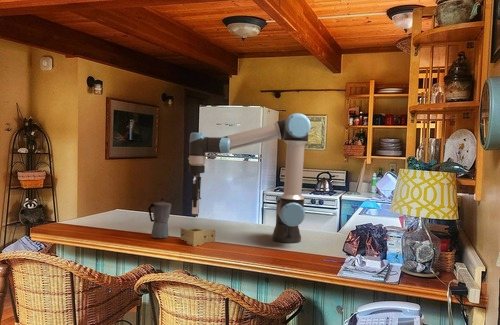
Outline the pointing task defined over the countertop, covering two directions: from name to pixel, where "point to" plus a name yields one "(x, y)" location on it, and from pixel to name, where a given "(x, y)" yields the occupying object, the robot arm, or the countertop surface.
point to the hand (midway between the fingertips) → (195, 213)
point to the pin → (198, 204)
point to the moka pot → (160, 218)
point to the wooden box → (197, 236)
